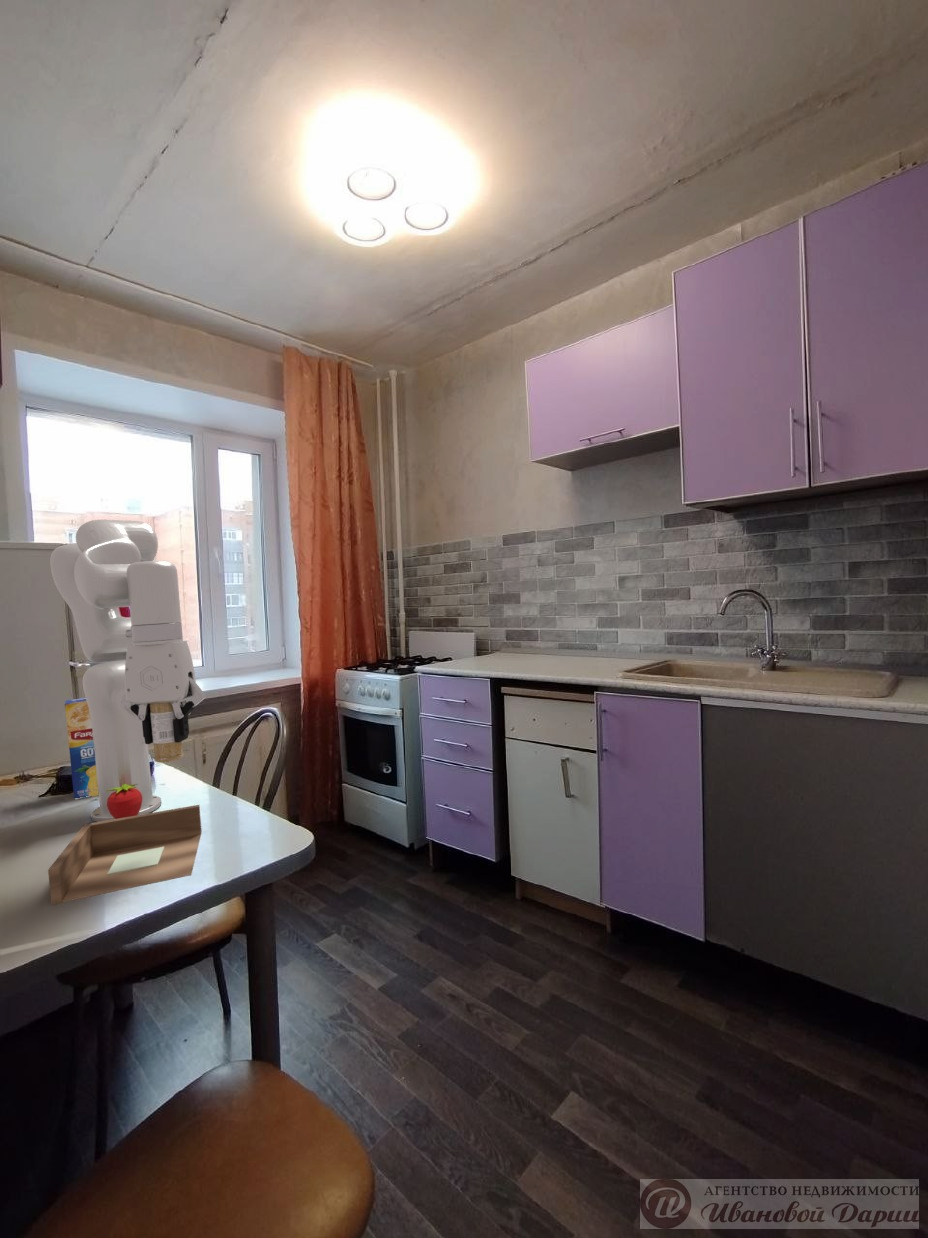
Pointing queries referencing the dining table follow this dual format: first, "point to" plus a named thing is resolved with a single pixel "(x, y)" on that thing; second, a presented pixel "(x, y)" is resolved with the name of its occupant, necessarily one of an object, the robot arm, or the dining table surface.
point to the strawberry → (124, 801)
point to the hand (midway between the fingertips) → (166, 740)
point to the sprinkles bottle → (164, 733)
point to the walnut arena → (103, 841)
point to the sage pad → (136, 860)
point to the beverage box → (81, 748)
